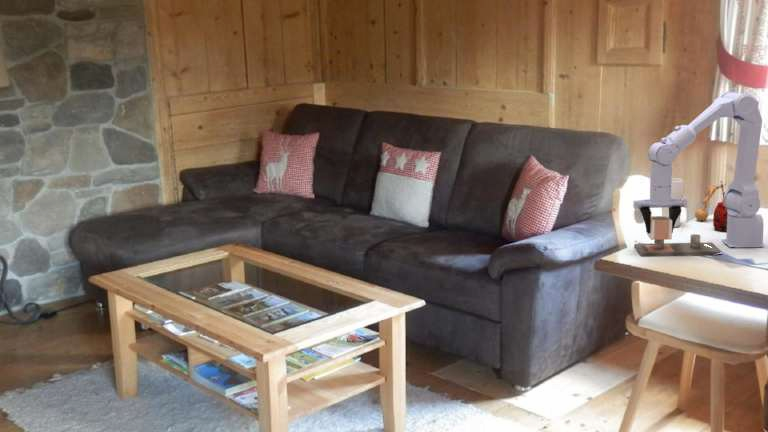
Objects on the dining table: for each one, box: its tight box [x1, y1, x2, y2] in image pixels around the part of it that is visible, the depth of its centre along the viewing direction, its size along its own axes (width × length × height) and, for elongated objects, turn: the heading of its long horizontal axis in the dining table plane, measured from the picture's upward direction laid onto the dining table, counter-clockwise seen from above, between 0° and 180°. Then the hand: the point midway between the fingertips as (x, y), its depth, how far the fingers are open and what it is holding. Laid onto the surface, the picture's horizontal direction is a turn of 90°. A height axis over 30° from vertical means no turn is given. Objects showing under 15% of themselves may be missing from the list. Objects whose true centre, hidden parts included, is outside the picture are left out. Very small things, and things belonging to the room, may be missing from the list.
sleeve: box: [646, 215, 673, 241], centre depth 242 cm, size 6×6×6 cm
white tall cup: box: [661, 177, 684, 228], centre depth 270 cm, size 7×7×15 cm
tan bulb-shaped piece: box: [694, 184, 717, 222], centre depth 275 cm, size 8×6×12 cm
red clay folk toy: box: [712, 180, 728, 232], centre depth 263 cm, size 8×7×15 cm
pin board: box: [633, 233, 723, 257], centre depth 243 cm, size 22×10×4 cm, turn 84°
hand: (659, 232), depth 243 cm, fingers closed on sleeve, 6 cm apart
